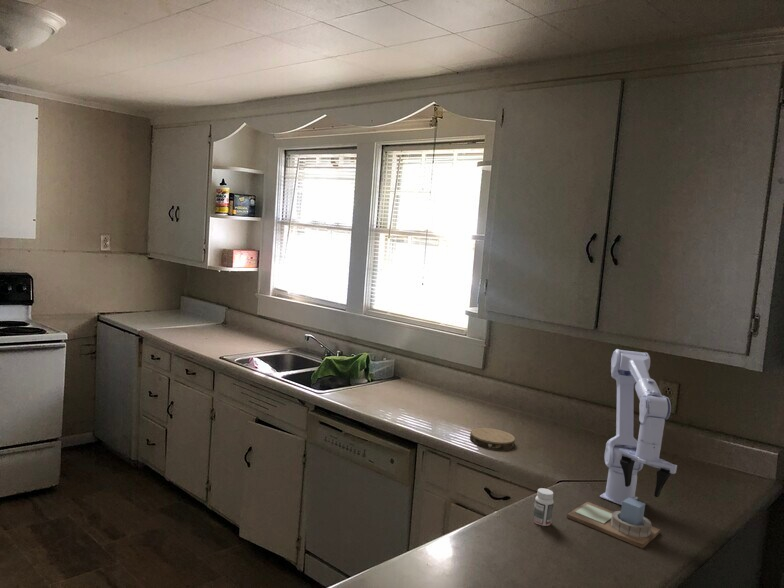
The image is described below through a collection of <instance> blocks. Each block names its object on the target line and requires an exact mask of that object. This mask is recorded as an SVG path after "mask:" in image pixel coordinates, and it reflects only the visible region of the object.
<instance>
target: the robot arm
mask: <svg viewBox="0 0 784 588" xmlns="http://www.w3.org/2000/svg"><path fill="white" fill-rule="evenodd" d="M610 363H611V364H610V373H611V378H612V379H614V380H615V381H616V383H615V384H616V418H615V419H616V422H615V427H616V428H615V430H616V431H615V436H613V437H611V438H610V439H608V440H607V442H606V443H605V450H604V463H605V466H606V467H607V468H608V473H607V479H606V487H605V491H604V492H603V493H602V494H600V495H599V497H600V498H601V499H604V500H606V501H609V502H612V503H615V504H617V505H620V506H622V501H624V500H625V499H627V498H628V497H629V498H632V499H635V500H638V499H639V497H638V496H636V490H637V481H638V472H640V471H641V470H642V469H643V467H644V465H647V466H650V467H652V468H655V469H656V468H657V469H659V470H657V471H656V481H655V482H656V483H655V484H656V485H655V490H654V498H659V497H660V495H661V492H662V490H663V487H664V486H665V484H666V482H667V481H668V480H669V478H670V476H671V475H675V474H677V469H678V465H677V464H673V463H672V462H669V461H666V460H665V459H662V458H660V456H661V455H660V453H661V449H662V442H663V436H664V430H665V429H664V428H665V423H666V420H669V418H670V416H671V409H672V407H671V406H672V405H671V401H670V398H669V397H668V396H666V395H662V393H661V391H660V388H659V386H658V383H657V382H656V380H654V379H653V378H651V376H650V372H649V370H650V369H651V368H650V367H651V357H650V354H649V353H648V352H641V351H632V350H624V349H619V348H616V349H615V350H614V351H613V352H612V355H611V360H610ZM634 389H635V392H636V396H637V398H638V400H639V405H638V406H639V407H638V409H639V416H638V419H639V420H638V421H639V422H640V423H639V429H638V436H637V437H638V438H637V439H636V438H635V437H634V424H635V423H634V417H635V416H634V415H635V413H634V404H635V403H634V401H635V399H634V398H635V396H634V395H635V393H634Z"/></svg>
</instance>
